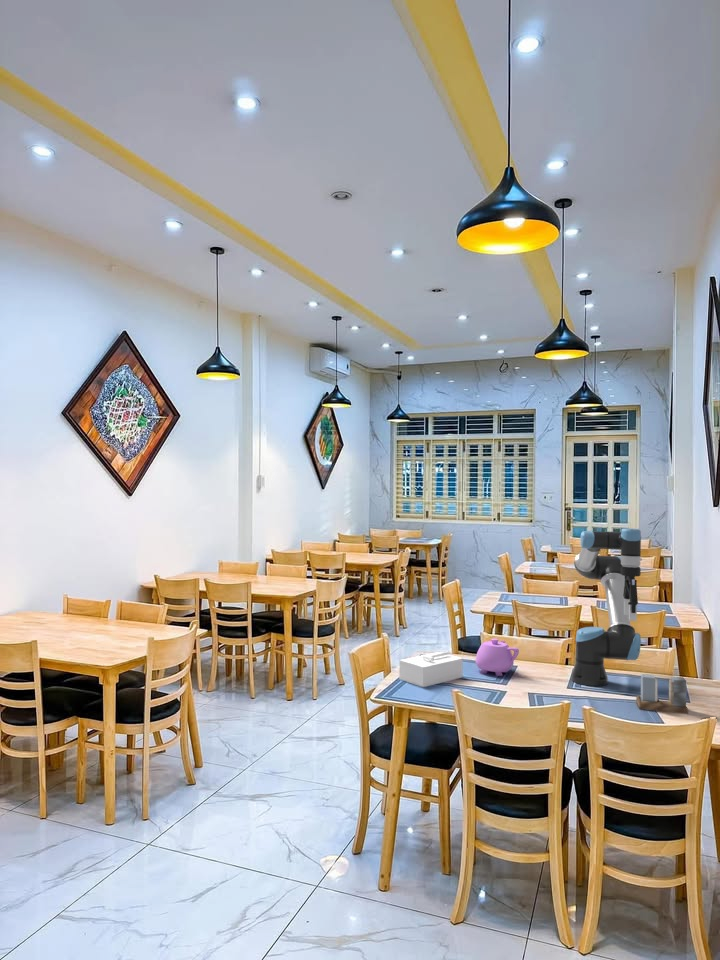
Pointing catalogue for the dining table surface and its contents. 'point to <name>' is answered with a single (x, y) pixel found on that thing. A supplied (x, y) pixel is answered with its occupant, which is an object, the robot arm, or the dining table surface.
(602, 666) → the robot arm
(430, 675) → the tissue box
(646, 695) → the light grey block
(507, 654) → the teapot
